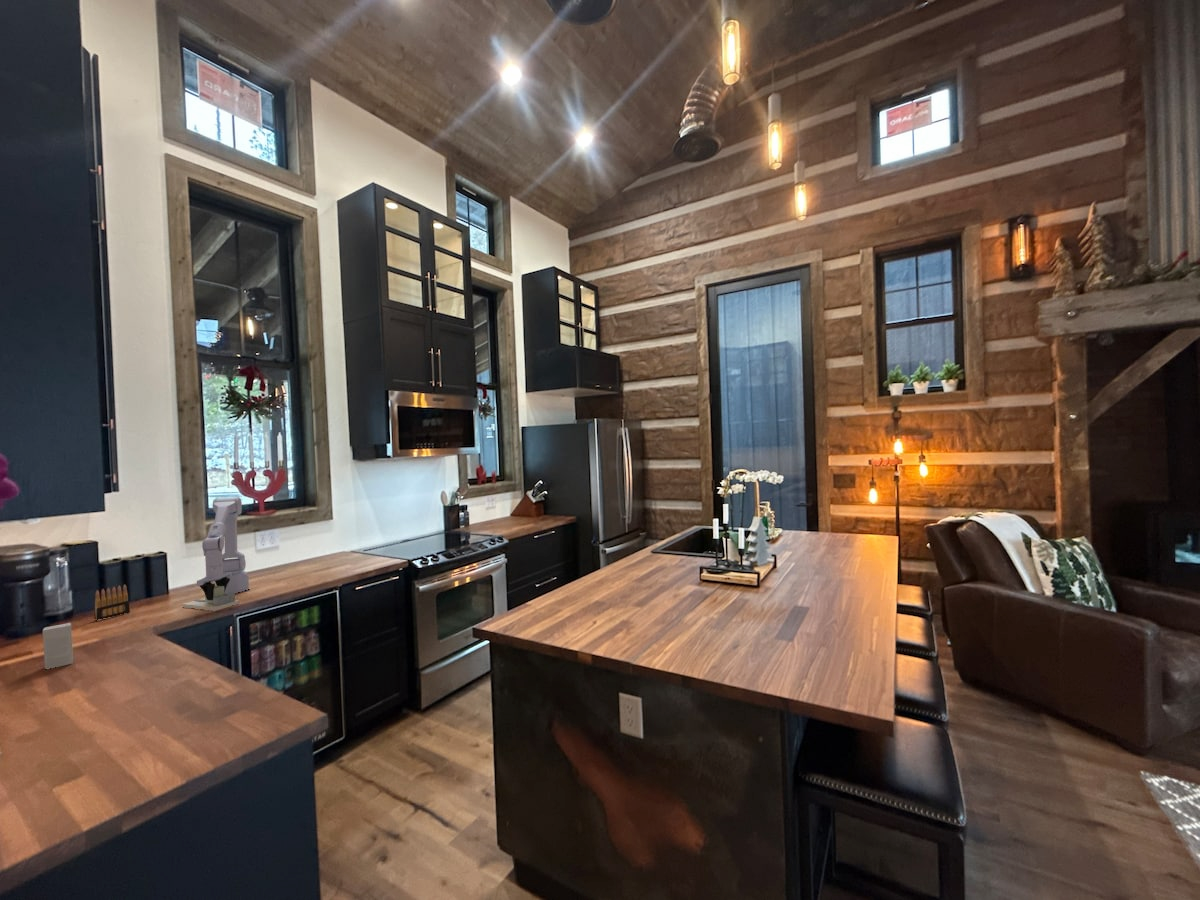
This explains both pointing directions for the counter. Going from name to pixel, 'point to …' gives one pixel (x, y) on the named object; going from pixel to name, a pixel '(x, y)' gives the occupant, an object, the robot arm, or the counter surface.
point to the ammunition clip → (111, 603)
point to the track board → (207, 605)
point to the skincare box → (57, 645)
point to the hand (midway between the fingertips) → (215, 598)
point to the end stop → (224, 599)
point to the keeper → (216, 593)
